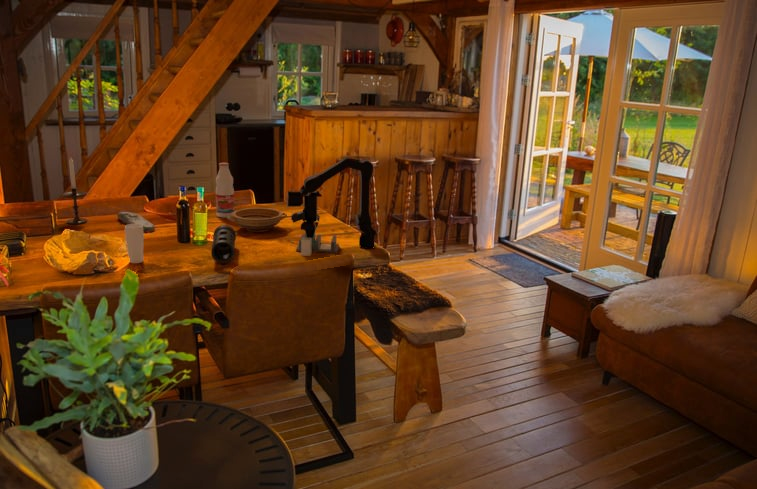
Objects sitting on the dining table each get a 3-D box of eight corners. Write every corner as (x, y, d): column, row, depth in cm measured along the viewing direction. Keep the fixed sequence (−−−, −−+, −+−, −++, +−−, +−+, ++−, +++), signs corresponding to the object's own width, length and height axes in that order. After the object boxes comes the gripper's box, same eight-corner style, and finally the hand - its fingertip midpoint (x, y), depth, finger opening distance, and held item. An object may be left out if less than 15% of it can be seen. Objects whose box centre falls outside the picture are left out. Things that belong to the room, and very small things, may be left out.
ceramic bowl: (280, 221, 313) (280, 206, 311) (293, 233, 292) (293, 217, 290) (222, 224, 301) (222, 209, 299) (232, 237, 280) (232, 221, 278)
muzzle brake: (211, 266, 241) (210, 241, 238) (214, 246, 267) (213, 223, 264) (235, 265, 243) (234, 241, 240) (236, 245, 269) (235, 223, 266)
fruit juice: (232, 213, 325) (230, 161, 317) (236, 217, 317) (235, 164, 309) (214, 214, 321) (212, 162, 313) (218, 218, 313) (217, 165, 305)
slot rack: (338, 246, 275) (339, 235, 273) (336, 253, 264) (337, 242, 263) (299, 244, 275) (299, 233, 273) (296, 251, 264) (296, 240, 263)
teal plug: (306, 244, 271) (306, 229, 269) (315, 244, 271) (315, 229, 269) (305, 246, 267) (305, 231, 265) (314, 247, 267) (314, 232, 265)
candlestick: (82, 225, 289) (75, 152, 279) (60, 224, 289) (52, 151, 279) (93, 220, 299) (86, 149, 290) (71, 219, 300) (64, 148, 290)
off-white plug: (311, 253, 263) (311, 237, 261) (310, 255, 259) (310, 240, 257) (302, 252, 263) (302, 237, 261) (301, 255, 259) (301, 239, 257)
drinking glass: (147, 259, 245) (145, 223, 240) (142, 264, 238) (139, 228, 234) (130, 258, 244) (128, 223, 240) (124, 264, 238) (121, 227, 234)
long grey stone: (139, 237, 281) (160, 234, 287) (139, 226, 279) (160, 224, 286) (112, 217, 304) (131, 216, 311) (112, 207, 303) (131, 206, 310)
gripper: (295, 200, 273) (295, 234, 277) (288, 210, 255) (288, 245, 259) (320, 202, 273) (319, 235, 277) (315, 211, 255) (314, 246, 259)
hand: (310, 240), depth 268 cm, fingers open, 5 cm apart
